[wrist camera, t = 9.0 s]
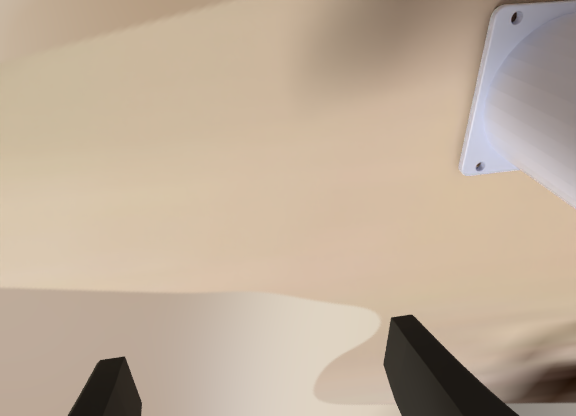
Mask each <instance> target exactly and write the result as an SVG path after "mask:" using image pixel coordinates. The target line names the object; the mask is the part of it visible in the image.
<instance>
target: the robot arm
mask: <svg viewBox="0 0 576 416" xmlns="http://www.w3.org/2000/svg"><path fill="white" fill-rule="evenodd" d="M515 12H517V17H516V19H515V21H514V22H511V18H512V15H513V14H514V13H515ZM480 162H481V164H480V165H479V166H478V167H476V165H477V164H478V163H480ZM459 170H460V172H461V173H462V174H464V175H465V176H472V175H481V174H490V173H498V172H507V171H516V170H521V171H523V172H524V173H526V174H527V175H528V176H530V177H531V178H533V179H534V180H535V181H537V182H538V183H540V184H541V185H542V186H544V187H545V188H547V189H548V190H549V191H551V192H552V193H554V194H555V195H556V196H558V197H559V198H561V199H562V200H563V201H565V202H566V203H568V204H569V205H570V206H572V207H573V208H575V209H576V0H569V1H553V2H537V3H520V4H504V5H501V6H499V7H497V8H496V9H495V10H494V11H493V13H492V15H491V18H490V22H489V26H488V31H487V36H486V40H485V45H484V50H483V54H482V59H481V64H480V69H479V73H478V78H477V83H476V87H475V92H474V97H473V101H472V106H471V111H470V115H469V120H468V125H467V129H466V134H465V139H464V143H463V148H462V153H461V157H460V162H459ZM384 367H385V371H386V374H387V377H388V380H389V383H390V387H391V389H392V392H393V395H394V398H395V401H396V404H397V406H398V408H399V410H400V413H401V415H402V416H519V415H518V414H516V413H515V412H514V411H513V410H512V409H511V408H509V407H508V406H507V405H506V404H505V403H504V402H502V401H501V400H500V399H499V398H498V397H497V396H495V395H494V394H493V393H492V392H491V391H490V390H489V389H488V388H487V387H485V386H484V385H483V384H482V383H481V382H480V381H479V380H478V379H477V378H476V377H475V376H474V375H473V374H471V373H470V372H469V371H468V370H467V369H466V368H465V367H464V366H463V365H462V364H461V363H460V362H459V361H458V360H457V359H456V358H455V357H454V356H453V355H452V354H451V353H450V352H449V351H448V350H447V349H446V348H445V347H444V346H443V345H442V344H441V343H440V342H439V341H438V340H437V339H436V338H435V337H434V336H433V335H432V334H431V333H430V332H429V331H428V330H427V329H426V328H425V327H424V326H423V325H422V324H421V323H420V322H419V321H418V320H417V319H416V318H415V317H414V316H413V315H405V316H399V317H392V318H391V322H390V328H389V334H388V340H387V346H386V352H385V358H384ZM141 409H142V402H141V399H140V397H139V394H138V391H137V389H136V386H135V383H134V380H133V377H132V375H131V372H130V369H129V366H128V364H127V361H126V358H125V357H119V358H112V359H105V360H100V361H99V362H98V363H97V365H96V367H95V368H94V370H93V372H92V374H91V376H90V377H89V379H88V381H87V383H86V385H85V387H84V388H83V390H82V392H81V394H80V395H79V397H78V399H77V401H76V402H75V404H74V406H73V407H72V409H71V411H70V413H69V414H68V416H141Z"/></svg>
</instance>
